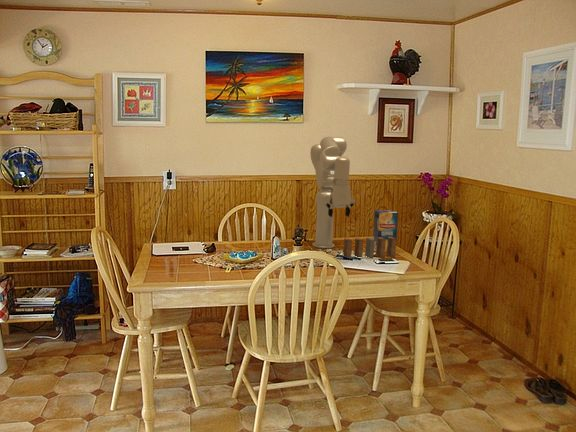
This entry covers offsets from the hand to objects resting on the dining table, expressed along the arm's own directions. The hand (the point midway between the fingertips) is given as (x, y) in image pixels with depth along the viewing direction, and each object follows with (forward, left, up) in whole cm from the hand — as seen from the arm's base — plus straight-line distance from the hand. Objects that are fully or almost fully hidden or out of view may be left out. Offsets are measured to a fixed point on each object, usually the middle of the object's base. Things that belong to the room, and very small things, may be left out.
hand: (338, 216), depth 280 cm
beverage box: (-13, +35, -23) cm, 44 cm away
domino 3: (0, +19, -22) cm, 29 cm away
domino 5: (0, +32, -22) cm, 39 cm away
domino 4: (0, +26, -22) cm, 34 cm away
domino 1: (0, +6, -22) cm, 23 cm away
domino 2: (0, +13, -22) cm, 26 cm away
